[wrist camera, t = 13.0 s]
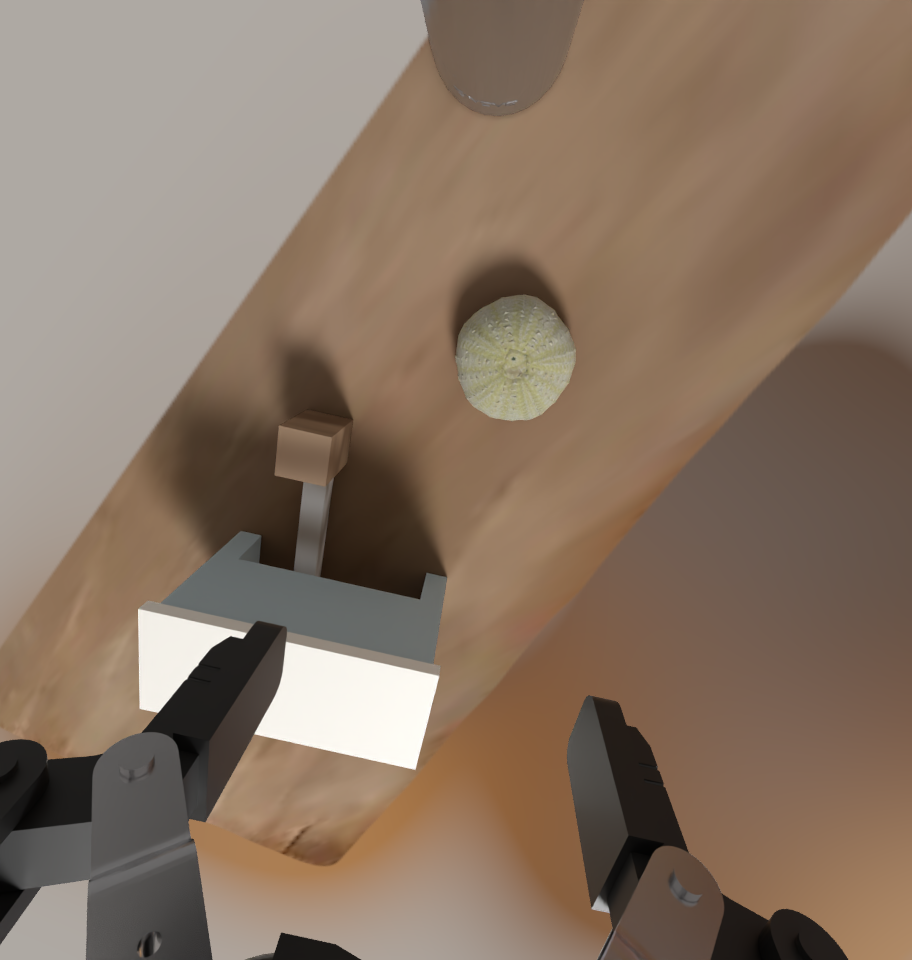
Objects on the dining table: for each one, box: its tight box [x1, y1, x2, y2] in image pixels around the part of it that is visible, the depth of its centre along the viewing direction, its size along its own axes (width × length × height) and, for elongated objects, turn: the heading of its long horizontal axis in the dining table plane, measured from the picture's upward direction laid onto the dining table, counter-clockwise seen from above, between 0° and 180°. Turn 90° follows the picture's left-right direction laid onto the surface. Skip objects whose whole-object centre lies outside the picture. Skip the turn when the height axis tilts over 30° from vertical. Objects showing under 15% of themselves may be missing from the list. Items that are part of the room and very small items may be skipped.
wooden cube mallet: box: [275, 409, 353, 577], centre depth 42 cm, size 16×4×6 cm, turn 168°
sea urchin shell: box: [455, 294, 576, 421], centre depth 37 cm, size 9×8×8 cm
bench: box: [138, 531, 447, 769], centre depth 41 cm, size 9×21×14 cm, turn 78°
